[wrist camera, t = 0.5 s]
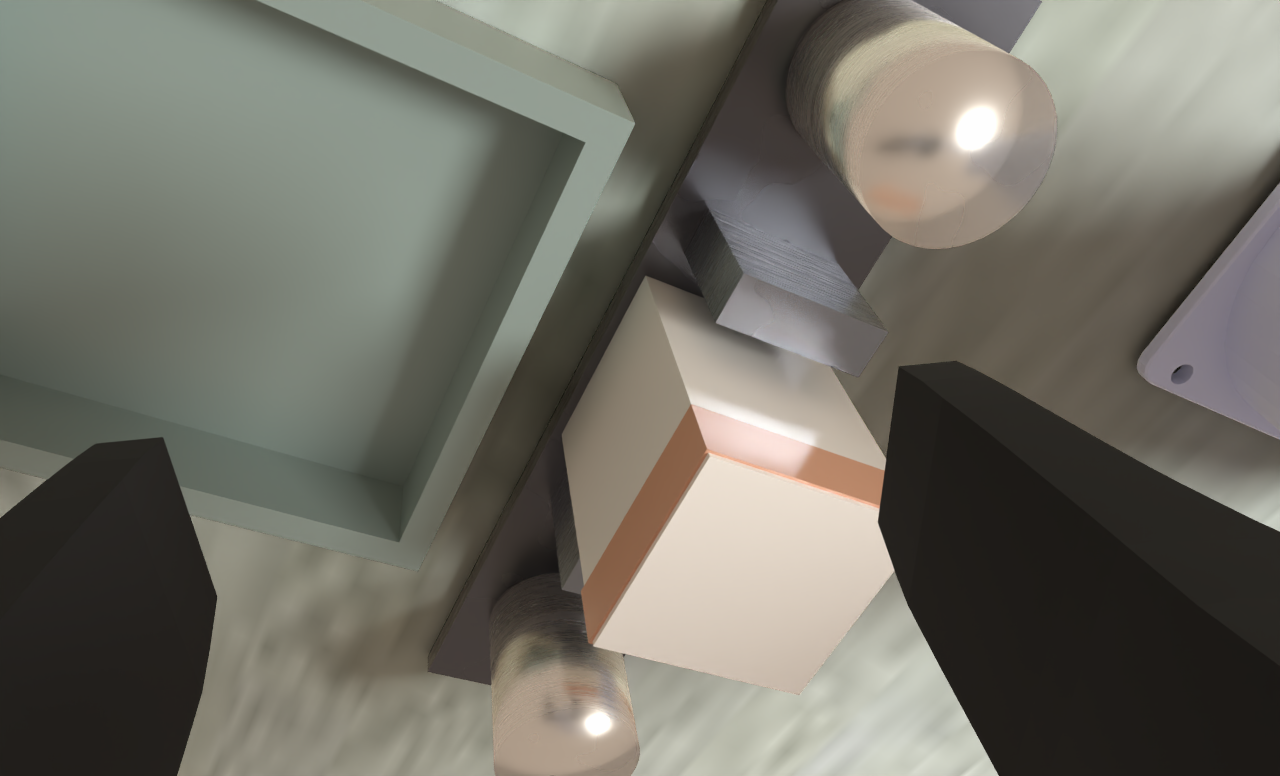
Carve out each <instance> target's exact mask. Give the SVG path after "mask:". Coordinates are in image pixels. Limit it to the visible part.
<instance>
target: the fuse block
mask: <svg viewBox="0 0 1280 776" xmlns="http://www.w3.org/2000/svg"><path fill="white" fill-rule="evenodd" d="M1041 3H1042V1H1040V0H767V2H766V4H765V6H764V8H763V10H762V12H761V14H760V16H759V18H758V19H757V21H756V23H755V25H754V27H753V29H752V31H751V33H750V35H749V37H748V39H747V41H746V43H745V45H744V47H743V48H742V50H741V52H740V54H739V56H738V58H737V60H736V62H735V64H734V66H733V68H732V70H731V72H730V74H729V76H728V77H727V79H726V81H725V83H724V85H723V87H722V89H721V91H720V93H719V95H718V97H717V99H716V101H715V103H714V105H713V106H712V108H711V110H710V112H709V114H708V116H707V118H706V120H705V122H704V124H703V126H702V128H701V130H700V132H699V134H698V135H697V137H696V139H695V141H694V143H693V145H692V147H691V149H690V151H689V153H688V155H687V157H686V159H685V161H684V163H683V164H682V166H681V168H680V170H679V172H678V174H677V176H676V178H675V180H674V182H673V184H672V186H671V188H670V190H669V192H668V194H667V195H666V197H665V199H664V201H663V203H662V205H661V207H660V209H659V211H658V213H657V215H656V217H655V219H654V221H653V223H652V224H651V226H650V228H649V230H648V232H647V234H646V236H645V238H644V240H643V242H642V244H641V246H640V248H639V250H638V252H637V253H636V255H635V257H634V259H633V261H632V263H631V265H630V267H629V269H628V271H627V273H626V275H625V277H624V279H623V281H622V282H621V284H620V286H619V288H618V290H617V292H616V294H615V296H614V298H613V300H612V302H611V304H610V306H609V308H608V310H607V311H606V313H605V315H604V317H603V319H602V321H601V323H600V325H599V327H598V329H597V331H596V333H595V335H594V337H593V339H592V340H591V342H590V344H589V346H588V348H587V350H586V352H585V354H584V356H583V358H582V360H581V362H580V364H579V366H578V368H577V369H576V371H575V373H574V375H573V377H572V379H571V381H570V383H569V385H568V387H567V389H566V391H565V393H564V395H563V397H562V399H561V400H560V402H559V404H558V406H557V408H556V410H555V412H554V414H553V416H552V418H551V420H550V422H549V424H548V426H547V428H546V429H545V431H544V433H543V435H542V437H541V439H540V441H539V443H538V445H537V447H536V449H535V451H534V453H533V455H532V457H531V458H530V460H529V462H528V464H527V466H526V468H525V470H524V472H523V474H522V476H521V478H520V480H519V482H518V484H517V486H516V487H515V489H514V491H513V493H512V495H511V497H510V499H509V501H508V503H507V505H506V507H505V509H504V511H503V513H502V515H501V516H500V518H499V520H498V522H497V524H496V526H495V528H494V530H493V532H492V534H491V536H490V538H489V540H488V542H487V544H486V545H485V547H484V549H483V551H482V553H481V555H480V557H479V559H478V561H477V563H476V565H475V567H474V569H473V571H472V573H471V575H470V576H469V578H468V580H467V582H466V584H465V586H464V588H463V590H462V592H461V594H460V596H459V598H458V600H457V602H456V604H455V605H454V607H453V609H452V611H451V613H450V615H449V617H448V619H447V621H446V623H445V625H444V627H443V629H442V631H441V633H440V634H439V636H438V638H437V640H436V642H435V644H434V646H433V648H432V650H431V652H430V654H429V656H428V672H431V673H436V674H441V675H445V676H450V677H455V678H460V679H464V680H469V681H474V682H478V683H483V684H488V685H491V689H492V719H493V749H494V770H495V775H496V776H631V774H632V773H633V771H634V770H635V768H636V766H637V763H638V761H639V756H640V748H639V742H638V736H637V731H636V725H635V720H634V714H633V709H632V703H631V698H630V692H629V687H628V681H627V676H626V670H625V664H624V659H623V657H624V656H625V654H623V653H619V652H615V651H611V650H607V649H602V648H598V647H594V646H593V644H590V643H588V637H587V630H586V624H585V617H584V610H583V603H582V596H581V590H582V589H583V587H584V582H583V575H582V568H581V562H580V555H579V548H578V542H577V535H576V528H575V522H574V515H573V508H572V501H571V495H570V488H569V481H568V475H567V468H566V461H565V454H564V448H563V441H562V433H563V431H564V429H565V427H566V425H567V423H568V421H569V420H570V418H571V416H572V414H573V412H574V410H575V408H576V406H577V404H578V402H579V401H580V399H581V397H582V395H583V393H584V391H585V389H586V387H587V385H588V384H589V382H590V380H591V378H592V376H593V374H594V372H595V370H596V368H597V366H598V365H599V363H600V361H601V359H602V357H603V355H604V353H605V351H606V349H607V347H608V346H609V344H610V342H611V340H612V338H613V336H614V334H615V332H616V330H617V329H618V327H619V325H620V323H621V321H622V319H623V317H624V315H625V313H626V311H627V310H628V308H629V306H630V304H631V302H632V300H633V298H634V296H635V294H636V292H637V291H638V289H639V287H640V285H641V283H642V281H643V279H644V277H645V275H646V276H648V277H651V278H653V279H656V280H659V281H661V282H664V283H666V284H669V285H671V286H674V287H676V288H679V289H682V290H684V291H687V292H689V293H692V294H694V295H697V296H700V297H702V298H704V299H705V301H706V303H707V305H708V308H709V310H710V312H711V314H712V316H713V319H714V321H715V323H717V324H720V325H722V326H725V327H728V328H730V329H733V330H736V331H738V332H741V333H743V334H746V335H749V336H751V337H754V338H757V339H759V340H762V341H764V342H767V343H770V344H772V345H775V346H778V347H780V348H783V349H785V350H788V351H791V352H793V353H796V354H799V355H801V356H804V357H806V358H809V359H812V360H814V361H817V362H820V363H822V364H825V365H827V366H830V367H833V368H835V369H838V370H841V371H843V372H846V373H848V374H851V375H854V376H856V377H859V376H860V374H861V373H862V371H863V370H864V368H865V367H866V365H867V364H868V362H869V361H870V359H871V358H872V356H873V355H874V353H875V352H876V350H877V349H878V347H879V346H880V344H881V343H882V341H883V340H884V338H885V337H886V335H887V334H888V330H887V329H886V328H885V326H884V325H883V324H882V322H881V321H880V320H879V318H878V317H877V316H876V314H875V313H874V312H873V310H872V309H871V307H870V306H869V305H868V303H867V302H866V301H865V299H864V298H863V297H862V295H861V294H860V293H859V291H858V289H859V288H860V286H861V285H862V283H863V281H864V280H865V278H866V277H867V275H868V274H869V272H870V270H871V269H872V267H873V266H874V264H875V263H876V261H877V259H878V258H879V256H880V255H881V253H882V252H883V250H884V248H885V247H886V245H887V244H888V242H889V241H890V239H891V238H892V237H894V238H896V239H898V240H900V241H901V242H904V243H906V244H909V245H912V246H916V247H921V248H928V249H945V248H952V247H958V246H962V245H965V244H969V243H972V242H974V241H977V240H979V239H981V238H984V237H986V236H987V235H989V234H991V233H993V232H994V231H996V230H998V229H999V228H1000V227H1002V226H1003V225H1005V224H1006V223H1007V222H1009V221H1010V220H1011V219H1012V218H1013V217H1014V216H1016V215H1017V214H1018V213H1019V212H1020V211H1021V210H1022V208H1023V207H1024V206H1025V205H1026V204H1027V203H1028V202H1029V200H1030V199H1031V198H1032V197H1033V195H1034V194H1035V193H1036V191H1037V189H1038V188H1039V186H1040V185H1041V183H1042V181H1043V179H1044V177H1045V175H1046V173H1047V171H1048V169H1049V166H1050V163H1051V160H1052V158H1053V154H1054V150H1055V145H1056V138H1057V116H1056V110H1055V105H1054V102H1053V99H1052V96H1051V93H1050V91H1049V89H1048V87H1047V85H1046V84H1045V82H1044V81H1043V80H1042V78H1041V77H1040V76H1039V74H1038V73H1037V72H1036V71H1035V70H1034V69H1032V68H1031V67H1030V66H1029V65H1027V64H1026V63H1024V62H1023V61H1022V60H1020V59H1018V58H1016V57H1014V56H1013V55H1011V54H1009V53H1010V51H1011V50H1012V48H1013V47H1014V45H1015V43H1016V42H1017V40H1018V39H1019V37H1020V36H1021V34H1022V32H1023V31H1024V29H1025V28H1026V26H1027V25H1028V23H1029V21H1030V20H1031V18H1032V17H1033V15H1034V14H1035V12H1036V11H1037V9H1038V7H1039V6H1040V4H1041Z"/></svg>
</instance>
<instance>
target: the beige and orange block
mask: <svg viewBox="0 0 1280 776" xmlns="http://www.w3.org/2000/svg"><path fill="white" fill-rule="evenodd" d="M562 441H563V448H564V454H565V461H566V468H567V475H568V481H569V488H570V495H571V501H572V508H573V515H574V522H575V528H576V535H577V542H578V548H579V555H580V562H581V568H582V575H583V582H584V587H583V589H582V590H581V596H582V603H583V610H584V617H585V624H586V630H587V637H588V643H590V644H593V646H594V647H598V648H602V649H607V650H611V651H615V652H619V653H623V654H628V655H632V656H636V657H640V658H645V659H649V660H653V661H657V662H661V663H666V664H670V665H674V666H678V667H683V668H687V669H691V670H695V671H699V672H704V673H708V674H712V675H716V676H720V677H725V678H729V679H733V680H737V681H742V682H746V683H750V684H754V685H758V686H763V687H767V688H771V689H775V690H780V691H784V692H788V693H792V694H796V695H800V693H801V692H802V691H803V690H804V688H805V687H806V686H807V684H808V683H809V682H810V680H811V679H812V678H813V676H814V675H815V674H816V673H817V671H818V670H819V669H820V667H821V666H822V665H823V663H824V662H825V661H826V659H827V658H828V657H829V656H830V654H831V653H832V652H833V650H834V649H835V648H836V646H837V645H838V644H839V643H840V641H841V640H842V639H843V637H844V636H845V635H846V633H847V632H848V631H849V629H850V628H851V627H852V626H853V624H854V623H855V622H856V620H857V619H858V618H859V616H860V615H861V614H862V612H863V611H864V610H865V609H866V607H867V606H868V605H869V603H870V602H871V601H872V599H873V598H874V597H875V596H876V594H877V593H878V592H879V590H880V589H881V588H882V586H883V585H884V584H885V582H886V581H887V580H888V579H889V577H890V576H891V575H892V573H893V572H894V571H895V570H894V568H893V565H892V562H891V559H890V556H889V553H888V550H887V548H886V545H885V542H884V539H883V536H882V533H881V531H880V528H879V525H878V516H879V509H880V501H881V494H882V487H883V479H884V472H885V465H886V458H885V456H884V455H883V453H882V451H881V450H880V448H879V446H878V445H877V443H876V441H875V440H874V438H873V436H872V435H871V433H870V431H869V430H868V428H867V426H866V425H865V423H864V421H863V420H862V418H861V417H860V415H859V413H858V412H857V410H856V408H855V407H854V405H853V403H852V402H851V400H850V398H849V397H848V395H847V393H846V392H845V390H844V388H843V387H842V385H841V383H840V382H839V380H838V378H837V377H836V375H835V373H834V372H833V370H832V368H831V367H830V366H827V365H825V364H822V363H820V362H817V361H814V360H812V359H809V358H806V357H804V356H801V355H799V354H796V353H793V352H791V351H788V350H785V349H783V348H780V347H778V346H775V345H772V344H770V343H767V342H764V341H762V340H759V339H757V338H754V337H751V336H749V335H746V334H743V333H741V332H738V331H736V330H733V329H730V328H728V327H725V326H722V325H720V324H717V323H715V321H714V319H713V316H712V314H711V312H710V310H709V308H708V305H707V303H706V301H705V299H704V298H702V297H700V296H697V295H694V294H692V293H689V292H687V291H684V290H682V289H679V288H676V287H674V286H671V285H669V284H666V283H664V282H661V281H659V280H656V279H653V278H651V277H648V276H646V275H645V277H644V279H643V281H642V283H641V285H640V287H639V289H638V291H637V292H636V294H635V296H634V298H633V300H632V302H631V304H630V306H629V308H628V310H627V311H626V313H625V315H624V317H623V319H622V321H621V323H620V325H619V327H618V329H617V330H616V332H615V334H614V336H613V338H612V340H611V342H610V344H609V346H608V347H607V349H606V351H605V353H604V355H603V357H602V359H601V361H600V363H599V365H598V366H597V368H596V370H595V372H594V374H593V376H592V378H591V380H590V382H589V384H588V385H587V387H586V389H585V391H584V393H583V395H582V397H581V399H580V401H579V402H578V404H577V406H576V408H575V410H574V412H573V414H572V416H571V418H570V420H569V421H568V423H567V425H566V427H565V429H564V431H563V433H562Z"/></svg>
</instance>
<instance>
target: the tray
mask: <svg viewBox="0 0 1280 776" xmlns="http://www.w3.org/2000/svg"><path fill="white" fill-rule="evenodd" d="M634 125H635V121H634V119H633V117H632V115H631V113H630V111H629V109H628V107H627V105H626V102H625V100H624V98H623V96H622V94H621V92H620V90H619V88H618V86H617V84H616V83H614V82H612V81H610V80H607V79H605V78H603V77H601V76H599V75H597V74H594V73H592V72H590V71H588V70H586V69H584V68H581V67H579V66H577V65H575V64H573V63H571V62H568V61H566V60H564V59H562V58H560V57H558V56H555V55H553V54H551V53H549V52H547V51H544V50H542V49H540V48H538V47H536V46H534V45H531V44H529V43H527V42H525V41H523V40H521V39H518V38H516V37H514V36H512V35H510V34H508V33H505V32H503V31H501V30H499V29H497V28H494V27H492V26H490V25H488V24H486V23H484V22H481V21H479V20H477V19H475V18H473V17H471V16H468V15H466V14H464V13H462V12H460V11H458V10H455V9H453V8H451V7H449V6H447V5H445V4H442V3H440V2H438V1H436V0H0V468H4V469H8V470H12V471H16V472H20V473H24V474H28V475H32V476H36V477H40V478H44V479H49V478H50V477H51V476H52V475H54V474H55V473H56V472H58V471H59V470H60V469H61V468H63V467H64V466H65V465H66V464H68V463H69V462H70V461H72V460H73V459H74V458H76V457H77V456H78V455H80V454H81V453H83V452H84V451H86V450H87V449H88V448H90V447H91V446H93V445H94V444H96V443H106V442H116V441H126V440H137V439H147V438H158V437H163V438H164V441H165V444H166V447H167V450H168V453H169V456H170V459H171V462H172V465H173V468H174V471H175V474H176V477H177V479H178V482H179V485H180V488H181V491H182V494H183V497H184V500H185V503H186V506H187V509H188V512H189V515H192V516H196V517H200V518H204V519H208V520H212V521H216V522H220V523H224V524H228V525H232V526H237V527H241V528H245V529H249V530H253V531H257V532H261V533H265V534H269V535H273V536H277V537H281V538H285V539H289V540H293V541H297V542H301V543H305V544H309V545H313V546H317V547H321V548H325V549H329V550H333V551H337V552H341V553H345V554H349V555H353V556H357V557H361V558H365V559H369V560H373V561H377V562H381V563H385V564H389V565H393V566H397V567H401V568H405V569H409V570H413V571H417V572H418V571H419V569H420V566H421V564H422V562H423V560H424V558H425V556H426V554H427V552H428V550H429V548H430V546H431V544H432V542H433V540H434V538H435V536H436V533H437V531H438V529H439V527H440V525H441V523H442V521H443V519H444V517H445V515H446V513H447V511H448V509H449V507H450V505H451V503H452V500H453V498H454V496H455V494H456V492H457V490H458V488H459V486H460V484H461V482H462V480H463V478H464V476H465V474H466V472H467V470H468V468H469V465H470V463H471V461H472V459H473V457H474V455H475V453H476V451H477V449H478V447H479V445H480V443H481V441H482V439H483V437H484V435H485V432H486V430H487V428H488V426H489V424H490V422H491V420H492V418H493V416H494V414H495V412H496V410H497V408H498V406H499V404H500V402H501V399H502V397H503V395H504V393H505V391H506V389H507V387H508V385H509V383H510V381H511V379H512V377H513V375H514V373H515V371H516V369H517V367H518V364H519V362H520V360H521V358H522V356H523V354H524V352H525V350H526V348H527V346H528V344H529V342H530V340H531V338H532V336H533V334H534V331H535V329H536V327H537V325H538V323H539V321H540V319H541V317H542V315H543V313H544V311H545V309H546V307H547V305H548V303H549V301H550V299H551V296H552V294H553V292H554V290H555V288H556V286H557V284H558V282H559V280H560V278H561V276H562V274H563V272H564V270H565V268H566V266H567V263H568V261H569V259H570V257H571V255H572V253H573V251H574V249H575V247H576V245H577V243H578V241H579V239H580V237H581V235H582V233H583V230H584V228H585V226H586V224H587V222H588V220H589V218H590V216H591V214H592V212H593V210H594V208H595V206H596V204H597V202H598V200H599V198H600V195H601V193H602V191H603V189H604V187H605V185H606V183H607V181H608V179H609V177H610V175H611V173H612V171H613V169H614V167H615V165H616V162H617V160H618V158H619V156H620V154H621V152H622V150H623V148H624V146H625V144H626V142H627V140H628V138H629V136H630V134H631V132H632V130H633V127H634Z"/></svg>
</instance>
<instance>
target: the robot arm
mask: <svg viewBox="0 0 1280 776" xmlns="http://www.w3.org/2000/svg"><path fill="white" fill-rule="evenodd" d="M1179 366H1181V368H1180V369H1179V370H1178V371H1177V372H1176V373H1174V374H1172V373H1173V372H1174V370H1175V369H1177V368H1178V367H1179ZM1137 370H1138V373H1139V374H1140V375H1141V376H1142V377H1143V378H1144V379H1145V380H1147V381H1148V382H1149V383H1150V384H1152V385H1154V386H1157V387H1159V388H1161V389H1164V390H1166V391H1168V392H1170V393H1173V394H1175V395H1177V396H1180V397H1182V398H1184V399H1187V400H1189V401H1191V402H1194V403H1196V404H1198V405H1200V406H1203V407H1205V408H1207V409H1210V410H1212V411H1214V412H1217V413H1219V414H1221V415H1224V416H1226V417H1228V418H1230V419H1233V420H1235V421H1237V422H1240V423H1242V424H1244V425H1247V426H1249V427H1251V428H1254V429H1256V430H1258V431H1261V432H1263V433H1265V434H1267V435H1270V436H1272V437H1274V438H1277V439H1279V440H1280V183H1279V184H1278V185H1277V187H1276V188H1275V189H1274V190H1273V191H1272V193H1271V194H1270V195H1269V196H1268V198H1267V199H1266V200H1265V201H1264V203H1263V204H1262V205H1261V206H1260V208H1259V209H1258V210H1257V211H1256V213H1255V214H1254V215H1253V216H1252V217H1251V219H1250V220H1249V221H1248V222H1247V224H1246V225H1245V226H1244V227H1243V229H1242V230H1241V231H1240V232H1239V234H1238V235H1237V236H1236V237H1235V239H1234V240H1233V241H1232V242H1231V243H1230V245H1229V246H1228V247H1227V248H1226V250H1225V251H1224V252H1223V253H1222V255H1221V256H1220V257H1219V258H1218V260H1217V261H1216V262H1215V263H1214V264H1213V266H1212V267H1211V268H1210V269H1209V271H1208V272H1207V273H1206V274H1205V276H1204V277H1203V278H1202V279H1201V281H1200V282H1199V283H1198V284H1197V286H1196V287H1195V288H1194V289H1193V290H1192V292H1191V293H1190V294H1189V295H1188V297H1187V298H1186V299H1185V300H1184V302H1183V303H1182V304H1181V305H1180V307H1179V308H1178V309H1177V310H1176V312H1175V313H1174V314H1173V315H1172V316H1171V318H1170V319H1169V320H1168V321H1167V323H1166V324H1165V325H1164V326H1163V328H1162V329H1161V330H1160V331H1159V333H1158V334H1157V335H1156V336H1155V337H1154V339H1153V340H1152V341H1151V342H1150V344H1149V345H1148V346H1147V347H1146V349H1145V350H1144V351H1143V352H1142V354H1141V356H1140V357H1139V359H1138V362H1137ZM878 525H879V528H880V531H881V533H882V536H883V539H884V542H885V545H886V548H887V550H888V553H889V556H890V559H891V562H892V565H893V568H894V570H895V573H896V575H897V578H898V581H899V583H900V586H901V588H902V591H903V593H904V596H905V599H906V601H907V604H908V606H909V608H910V610H911V612H912V614H913V616H914V618H915V620H916V622H917V624H918V626H919V628H920V629H921V631H922V633H923V635H924V637H925V639H926V641H927V643H928V645H929V647H930V648H931V650H932V652H933V654H934V656H935V658H936V660H937V662H938V664H939V665H940V667H941V669H942V671H943V673H944V675H945V677H946V679H947V680H948V682H949V684H950V686H951V688H952V690H953V692H954V693H955V695H956V697H957V699H958V701H959V703H960V704H961V706H962V708H963V710H964V712H965V714H966V716H967V717H968V719H969V721H970V723H971V725H972V727H973V729H974V730H975V732H976V734H977V736H978V738H979V740H980V742H981V743H982V745H983V747H984V749H985V751H986V753H987V755H988V756H989V758H990V760H991V762H992V764H993V766H994V768H995V769H996V771H997V773H998V775H999V776H1280V532H1279V531H1277V530H1275V529H1273V528H1270V527H1268V526H1266V525H1264V524H1262V523H1259V522H1257V521H1255V520H1253V519H1251V518H1249V517H1247V516H1245V515H1243V514H1241V513H1239V512H1237V511H1235V510H1233V509H1231V508H1229V507H1227V506H1225V505H1223V504H1221V503H1219V502H1217V501H1215V500H1213V499H1211V498H1209V497H1207V496H1205V495H1203V494H1201V493H1199V492H1197V491H1195V490H1193V489H1191V488H1189V487H1187V486H1185V485H1183V484H1181V483H1179V482H1177V481H1175V480H1173V479H1171V478H1169V477H1167V476H1166V475H1164V474H1162V473H1160V472H1158V471H1156V470H1154V469H1152V468H1150V467H1148V466H1147V465H1145V464H1143V463H1141V462H1139V461H1137V460H1136V459H1134V458H1132V457H1130V456H1128V455H1126V454H1125V453H1123V452H1121V451H1119V450H1117V449H1116V448H1114V447H1112V446H1110V445H1108V444H1107V443H1105V442H1103V441H1101V440H1100V439H1098V438H1096V437H1094V436H1092V435H1091V434H1089V433H1087V432H1085V431H1084V430H1082V429H1080V428H1078V427H1077V426H1075V425H1073V424H1071V423H1070V422H1068V421H1066V420H1064V419H1063V418H1061V417H1059V416H1057V415H1056V414H1054V413H1052V412H1050V411H1049V410H1047V409H1045V408H1043V407H1042V406H1040V405H1038V404H1036V403H1035V402H1033V401H1031V400H1029V399H1028V398H1026V397H1024V396H1022V395H1021V394H1019V393H1017V392H1015V391H1013V390H1012V389H1010V388H1008V387H1006V386H1005V385H1003V384H1001V383H999V382H997V381H995V380H994V379H992V378H990V377H988V376H986V375H984V374H982V373H980V372H978V371H976V370H975V369H972V368H970V367H968V366H966V365H964V364H962V363H960V362H957V361H951V362H941V363H930V364H920V365H909V366H899V369H898V377H897V384H896V391H895V399H894V406H893V413H892V421H891V428H890V435H889V443H888V450H887V457H886V465H885V472H884V479H883V487H882V494H881V501H880V509H879V516H878ZM216 603H217V595H216V592H215V589H214V586H213V583H212V580H211V577H210V574H209V571H208V568H207V565H206V562H205V559H204V556H203V553H202V550H201V547H200V544H199V541H198V539H197V536H196V533H195V530H194V527H193V524H192V521H191V518H190V515H189V512H188V509H187V506H186V503H185V500H184V497H183V494H182V491H181V488H180V485H179V482H178V479H177V477H176V474H175V471H174V468H173V465H172V462H171V459H170V456H169V453H168V450H167V447H166V444H165V441H164V438H163V437H158V438H147V439H137V440H126V441H116V442H106V443H96V444H94V445H93V446H91V447H90V448H88V449H87V450H86V451H84V452H83V453H81V454H80V455H78V456H77V457H76V458H74V459H73V460H72V461H70V462H69V463H68V464H66V465H65V466H64V467H63V468H61V469H60V470H59V471H58V472H56V473H55V474H54V475H52V476H51V477H50V478H49V479H47V480H46V481H45V482H44V483H43V484H41V485H40V486H39V487H38V488H36V489H35V490H34V491H33V492H31V493H30V494H29V495H28V496H27V497H25V498H24V499H23V500H22V501H20V502H19V503H18V504H17V505H16V506H14V507H13V508H12V509H11V510H10V511H8V512H7V513H6V514H5V515H3V516H2V517H1V518H0V776H177V774H178V771H179V768H180V764H181V761H182V758H183V754H184V751H185V748H186V744H187V741H188V738H189V735H190V731H191V728H192V725H193V721H194V718H195V715H196V711H197V708H198V704H199V701H200V698H201V694H202V690H203V684H204V679H205V673H206V667H207V662H208V656H209V650H210V644H211V637H212V630H213V623H214V616H215V609H216Z"/></svg>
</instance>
